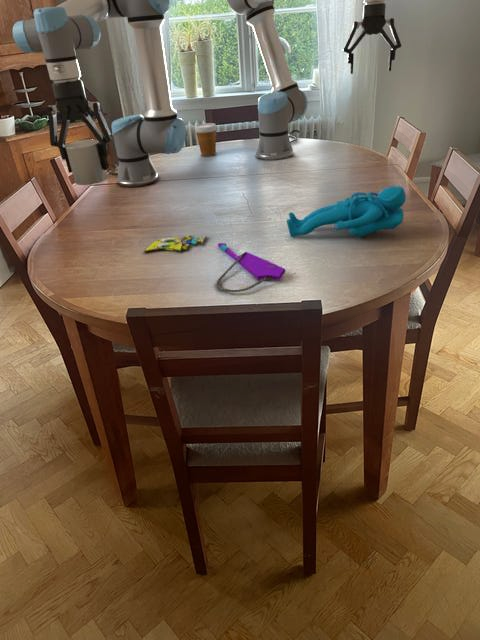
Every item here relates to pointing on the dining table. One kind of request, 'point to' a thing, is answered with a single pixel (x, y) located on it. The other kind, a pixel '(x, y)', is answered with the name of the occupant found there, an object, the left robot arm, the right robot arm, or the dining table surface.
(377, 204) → the toy
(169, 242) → the toy
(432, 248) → the dining table surface
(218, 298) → the dining table surface
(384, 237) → the dining table surface
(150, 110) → the left robot arm
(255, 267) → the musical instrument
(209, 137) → the disposable coffee cup
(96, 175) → the canister
